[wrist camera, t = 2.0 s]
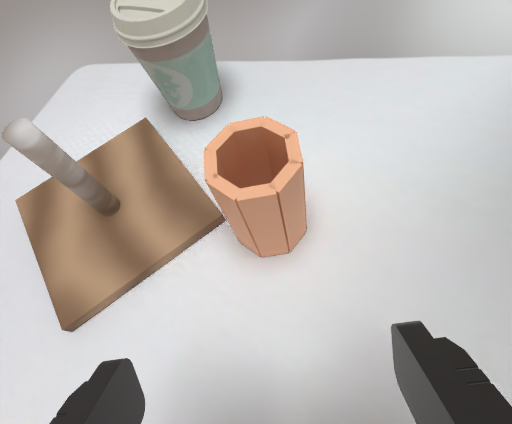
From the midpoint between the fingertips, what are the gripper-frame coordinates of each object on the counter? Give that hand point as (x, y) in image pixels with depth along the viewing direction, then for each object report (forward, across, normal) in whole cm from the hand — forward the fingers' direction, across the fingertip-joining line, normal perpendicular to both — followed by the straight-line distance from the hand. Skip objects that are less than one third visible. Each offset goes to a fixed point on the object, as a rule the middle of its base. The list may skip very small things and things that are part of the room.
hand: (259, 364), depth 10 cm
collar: (+19, 0, +2) cm, 19 cm away
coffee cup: (+31, +6, -10) cm, 33 cm away
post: (+22, +15, -1) cm, 26 cm away
